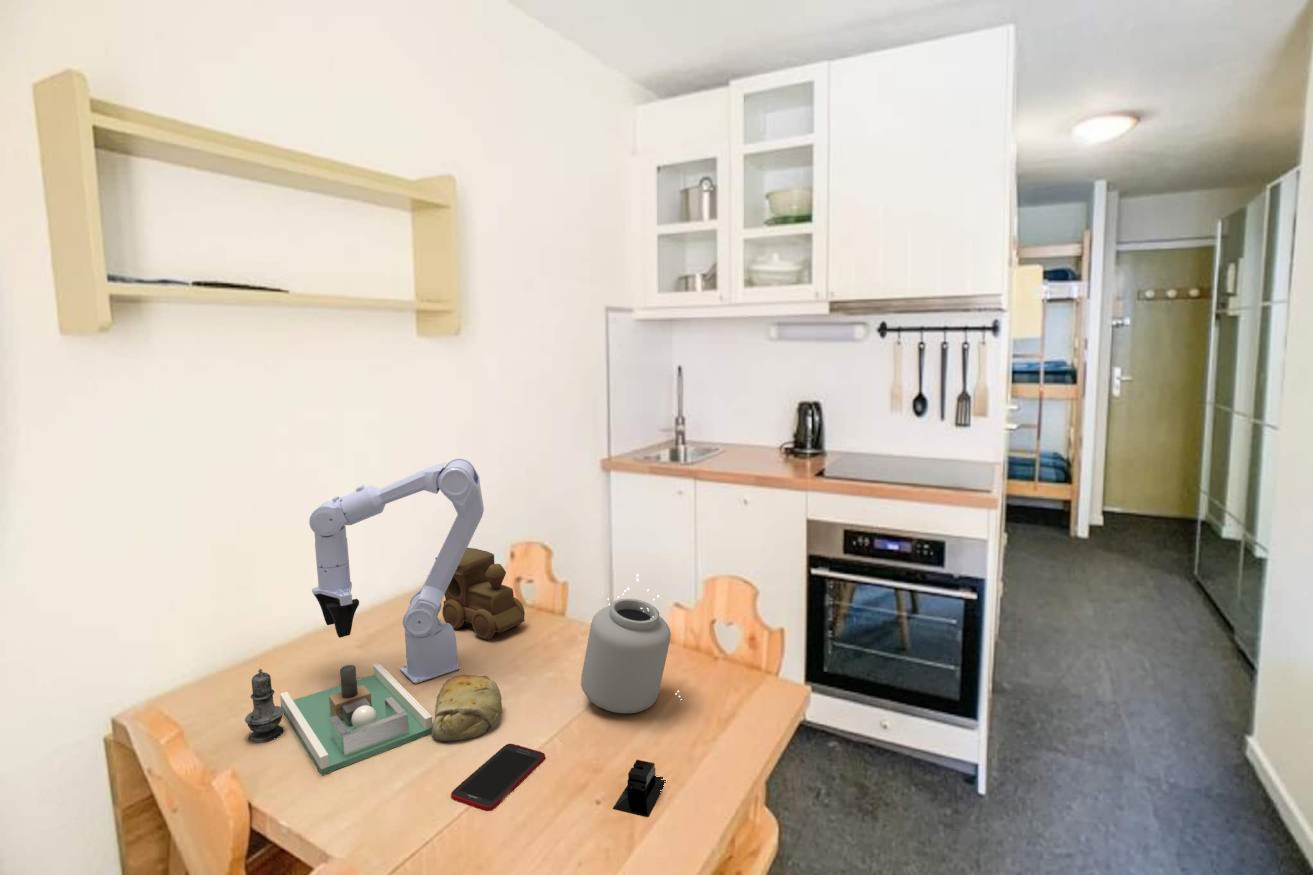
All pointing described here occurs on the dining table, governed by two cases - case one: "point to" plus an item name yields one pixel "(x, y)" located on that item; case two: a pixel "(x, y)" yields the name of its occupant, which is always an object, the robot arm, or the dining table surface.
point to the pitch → (314, 724)
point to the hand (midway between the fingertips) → (338, 629)
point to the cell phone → (497, 777)
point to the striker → (349, 695)
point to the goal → (370, 730)
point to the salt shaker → (264, 711)
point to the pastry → (466, 708)
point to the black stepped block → (640, 790)
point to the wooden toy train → (481, 596)
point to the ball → (363, 716)
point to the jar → (625, 656)
